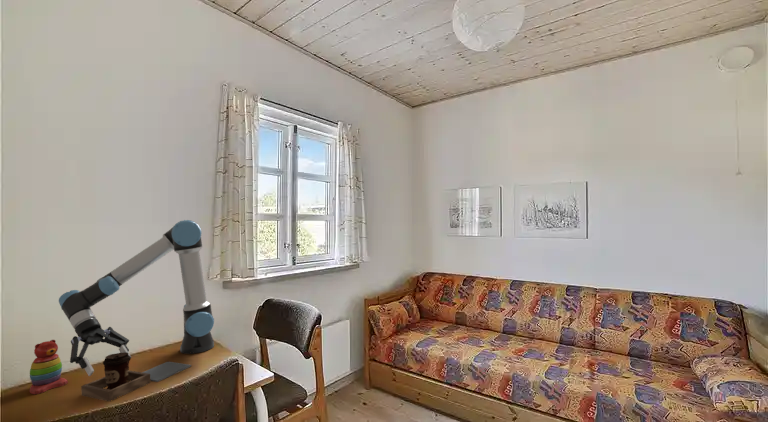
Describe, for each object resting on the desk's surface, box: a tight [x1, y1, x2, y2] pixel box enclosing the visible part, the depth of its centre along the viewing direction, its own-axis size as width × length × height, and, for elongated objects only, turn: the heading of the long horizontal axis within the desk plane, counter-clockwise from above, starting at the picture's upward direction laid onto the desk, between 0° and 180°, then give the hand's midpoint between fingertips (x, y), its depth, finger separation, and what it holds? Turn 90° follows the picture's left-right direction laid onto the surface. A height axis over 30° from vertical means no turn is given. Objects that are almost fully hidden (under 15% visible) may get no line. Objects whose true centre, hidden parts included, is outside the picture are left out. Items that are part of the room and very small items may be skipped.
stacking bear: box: [29, 339, 69, 395], centre depth 143 cm, size 11×10×18 cm
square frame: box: [80, 369, 151, 402], centre depth 139 cm, size 15×15×4 cm
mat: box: [142, 361, 192, 383], centre depth 154 cm, size 16×14×1 cm
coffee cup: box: [102, 352, 132, 390], centre depth 140 cm, size 9×8×13 cm
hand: (111, 366), depth 139 cm, fingers open, 13 cm apart
